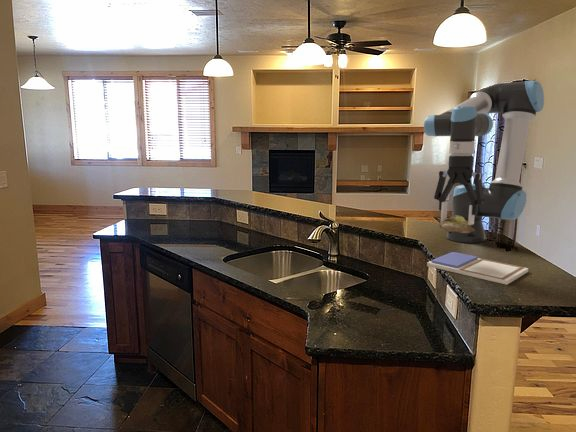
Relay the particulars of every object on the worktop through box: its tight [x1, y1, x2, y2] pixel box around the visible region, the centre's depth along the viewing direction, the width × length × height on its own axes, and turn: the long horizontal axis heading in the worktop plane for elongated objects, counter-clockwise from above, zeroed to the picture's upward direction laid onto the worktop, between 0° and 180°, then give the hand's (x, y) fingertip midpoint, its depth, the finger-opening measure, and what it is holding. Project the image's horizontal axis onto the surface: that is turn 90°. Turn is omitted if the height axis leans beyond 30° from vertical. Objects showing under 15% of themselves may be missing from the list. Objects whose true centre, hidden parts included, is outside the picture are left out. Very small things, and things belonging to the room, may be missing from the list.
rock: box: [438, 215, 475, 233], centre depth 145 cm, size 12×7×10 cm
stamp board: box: [426, 251, 529, 286], centre depth 143 cm, size 17×26×2 cm, turn 43°
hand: (456, 222), depth 146 cm, fingers closed on rock, 9 cm apart
